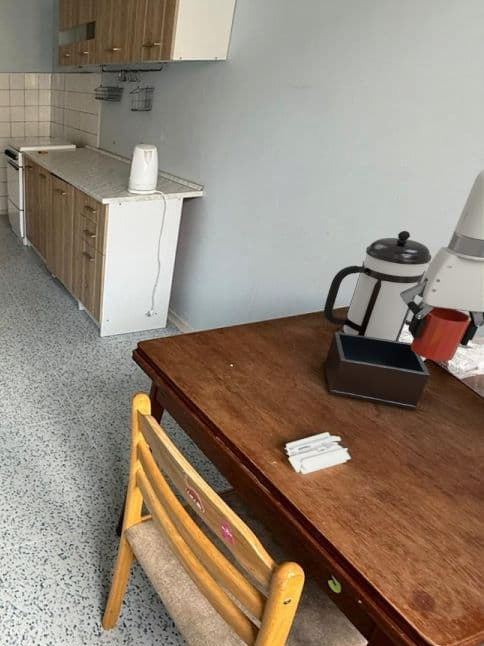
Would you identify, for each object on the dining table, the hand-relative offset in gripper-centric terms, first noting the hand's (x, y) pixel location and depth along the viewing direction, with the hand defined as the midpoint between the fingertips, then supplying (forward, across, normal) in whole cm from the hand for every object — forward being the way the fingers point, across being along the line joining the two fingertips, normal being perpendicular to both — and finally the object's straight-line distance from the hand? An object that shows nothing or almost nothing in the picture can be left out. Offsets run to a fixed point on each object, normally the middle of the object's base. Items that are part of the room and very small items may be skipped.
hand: (437, 337), depth 87 cm
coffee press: (+20, +2, -34) cm, 40 cm away
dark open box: (+20, +4, -12) cm, 24 cm away
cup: (+3, 0, 0) cm, 3 cm away
